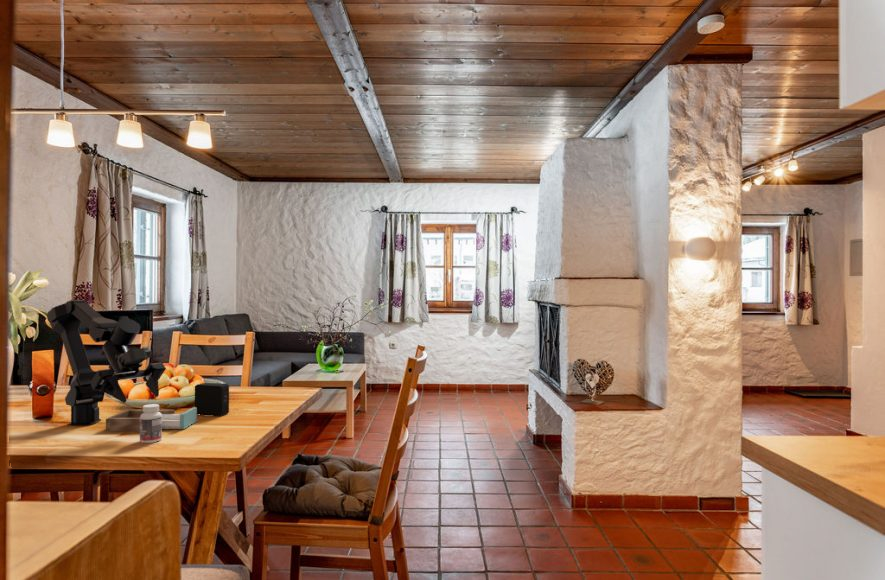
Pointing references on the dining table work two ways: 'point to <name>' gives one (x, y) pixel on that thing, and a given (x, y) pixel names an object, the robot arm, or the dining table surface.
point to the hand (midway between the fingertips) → (141, 398)
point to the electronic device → (212, 399)
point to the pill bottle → (150, 424)
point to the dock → (128, 420)
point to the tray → (179, 419)
